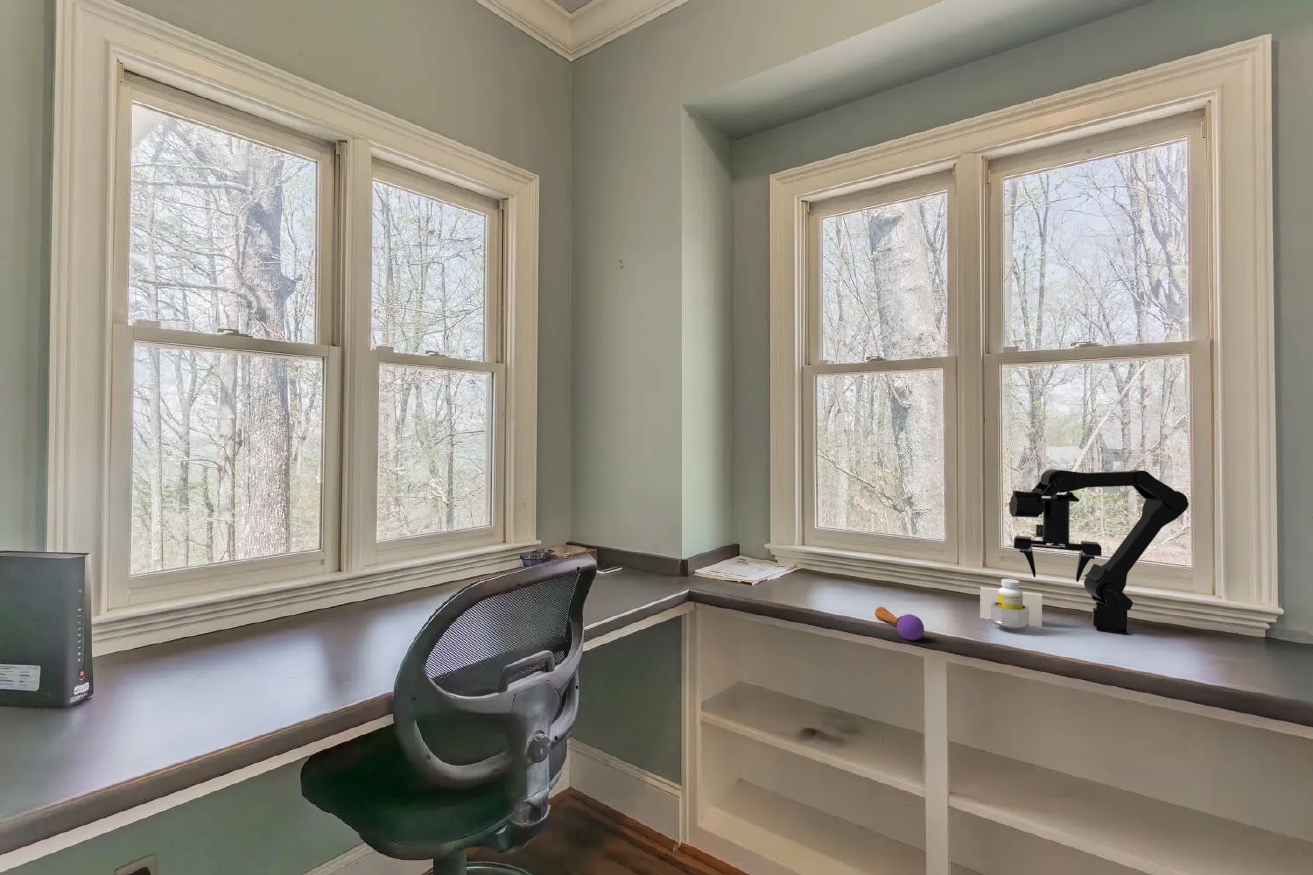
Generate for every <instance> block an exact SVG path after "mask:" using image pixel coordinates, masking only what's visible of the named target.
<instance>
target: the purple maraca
mask: <svg viewBox="0 0 1313 875" xmlns="http://www.w3.org/2000/svg"><path fill="white" fill-rule="evenodd" d="M874 616H875V617H876V619H878V620H880V621H886V622H889V623H892V624H895V628H896V630H897V632H898V634H899V635H900V636H901V638H903V639H904V640H907V641H910V642H911V641H917V640H919V639H921V637H923V636H924V632H925V625H924V624H923V621H922V620H921V618H919V616H916V615H913V614H912V613H911V614H910V613H909V614H904V615H901V616H899V617H897V616H895V615H894V614H892V612H890V611H889V610H888V609H886V608H885V607H883V606H879V607H877V608H875V611H874Z"/></svg>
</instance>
